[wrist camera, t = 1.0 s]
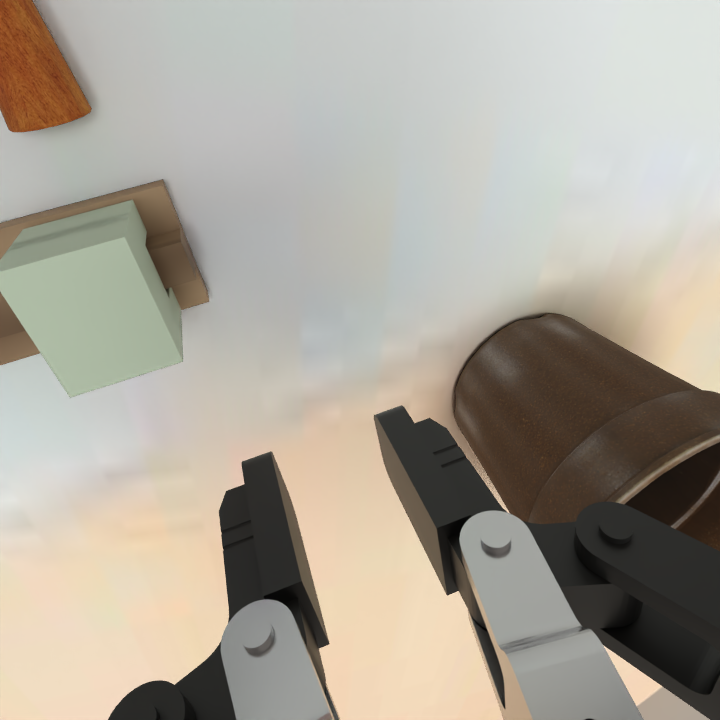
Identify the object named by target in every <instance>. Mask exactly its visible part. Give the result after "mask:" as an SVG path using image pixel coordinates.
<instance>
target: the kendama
mask: <svg viewBox="0 0 720 720" xmlns="http://www.w3.org/2000/svg"><path fill="white" fill-rule="evenodd" d="M0 110H1V112H2V114H3V117H4V119H5V122H6V124H7V127H8V129H9V130H10V131H12V132H27V131H34V130H40V129H45V128H49V127H54V126H57V125H61V124H64V123H67V122H71V121H73V120H76V119H78V118H81V117H83V116H85V115H87V114H88V113H90V112H91V107H90V105H89V103H88V101H87V100H86V98H85V96H84V94H83V92H82V91H81V89H80V87H79V85H78V83H77V81H76V80H75V78H74V76H73V74H72V72H71V71H70V69H69V67H68V65H67V63H66V61H65V60H64V58H63V56H62V54H61V52H60V51H59V49H58V47H57V45H56V43H55V41H54V40H53V38H52V36H51V34H50V32H49V31H48V29H47V27H46V25H45V23H44V21H43V20H42V18H41V16H40V14H39V12H38V11H37V9H36V7H35V5H34V3H33V1H32V0H0Z"/></svg>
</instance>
